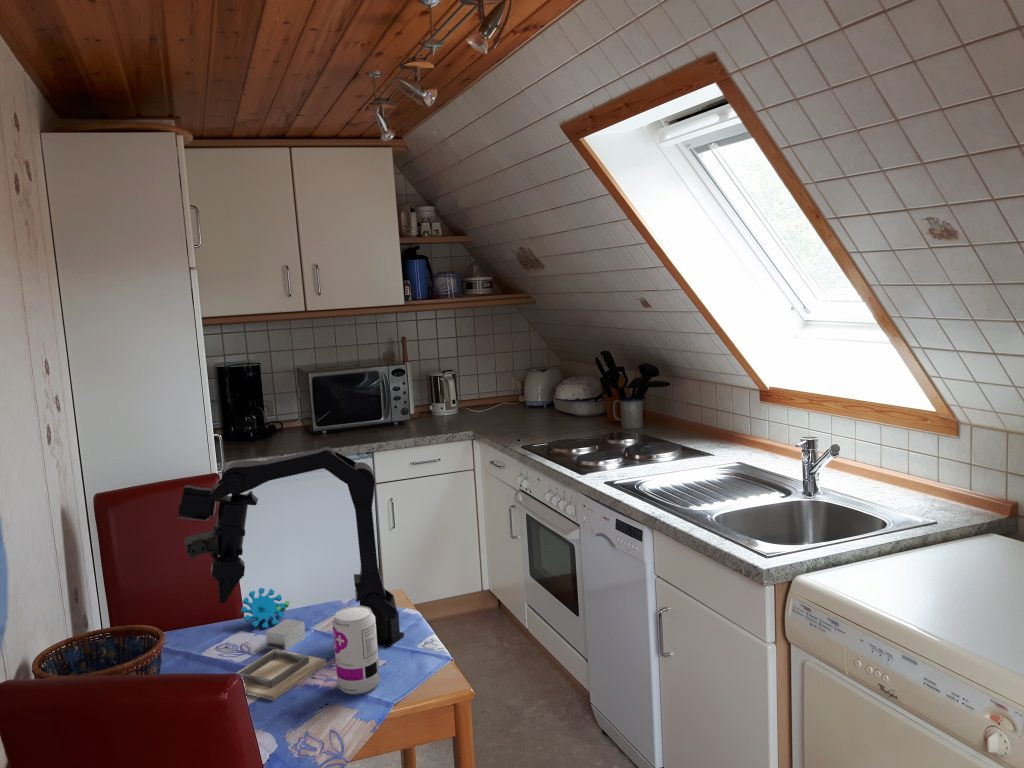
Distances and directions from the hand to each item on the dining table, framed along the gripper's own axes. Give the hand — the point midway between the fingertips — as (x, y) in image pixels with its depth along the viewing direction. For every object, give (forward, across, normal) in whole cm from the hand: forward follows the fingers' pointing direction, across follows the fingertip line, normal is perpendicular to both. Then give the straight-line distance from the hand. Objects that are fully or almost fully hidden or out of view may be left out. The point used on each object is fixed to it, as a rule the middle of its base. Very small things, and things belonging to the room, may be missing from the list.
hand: (221, 594), depth 174 cm
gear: (+14, -17, +12) cm, 25 cm away
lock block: (+12, -3, +15) cm, 20 cm away
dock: (+12, +12, +11) cm, 21 cm away
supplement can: (+9, +23, +26) cm, 36 cm away
